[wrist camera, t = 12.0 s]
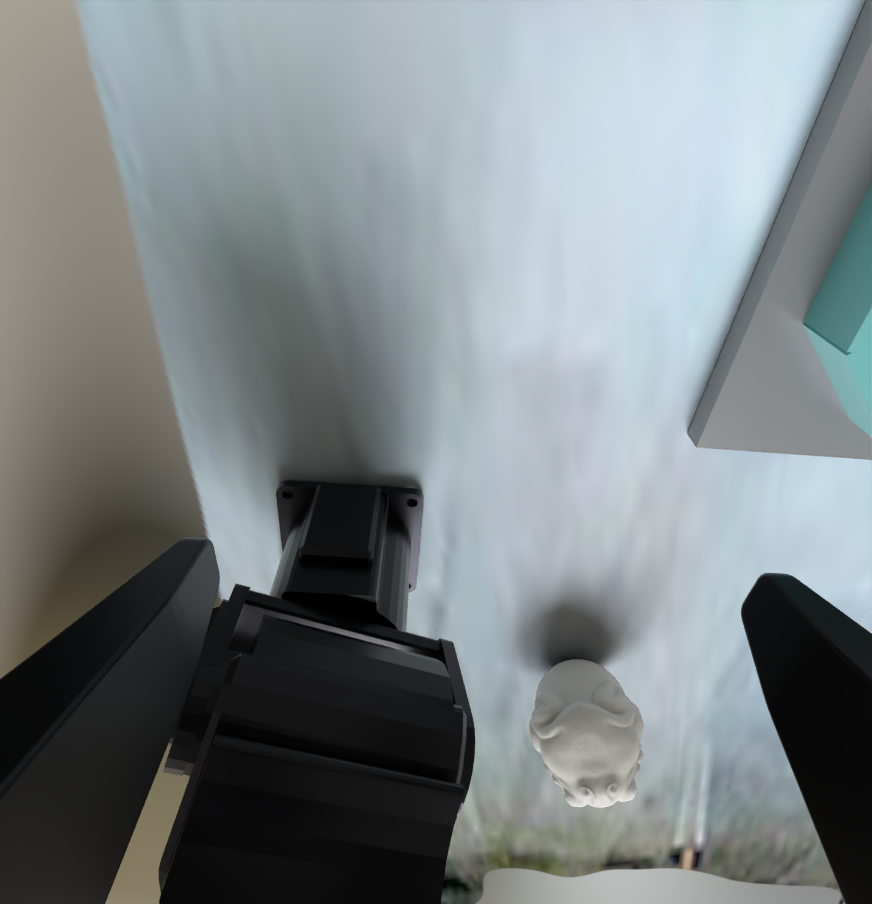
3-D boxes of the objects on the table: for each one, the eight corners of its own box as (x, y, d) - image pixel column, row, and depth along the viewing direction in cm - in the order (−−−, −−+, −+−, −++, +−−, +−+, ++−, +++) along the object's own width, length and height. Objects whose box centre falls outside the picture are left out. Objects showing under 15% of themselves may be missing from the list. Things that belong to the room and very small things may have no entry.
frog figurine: (533, 707, 35) (551, 832, 30) (510, 643, 31) (526, 772, 26) (629, 693, 34) (667, 819, 28) (618, 624, 30) (660, 754, 25)
